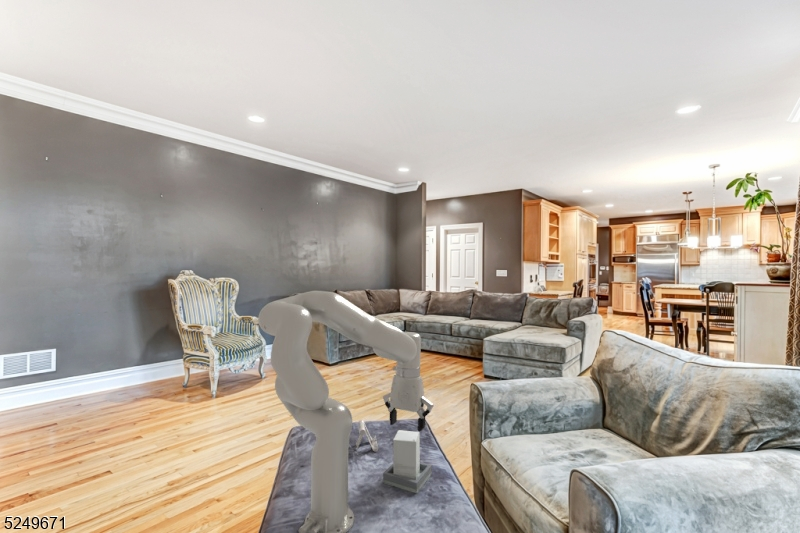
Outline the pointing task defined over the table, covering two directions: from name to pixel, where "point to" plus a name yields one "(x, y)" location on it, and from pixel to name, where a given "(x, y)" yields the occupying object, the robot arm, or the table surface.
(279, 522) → the table surface
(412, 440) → the supplement box
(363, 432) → the portable electronic device stand
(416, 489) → the tray
